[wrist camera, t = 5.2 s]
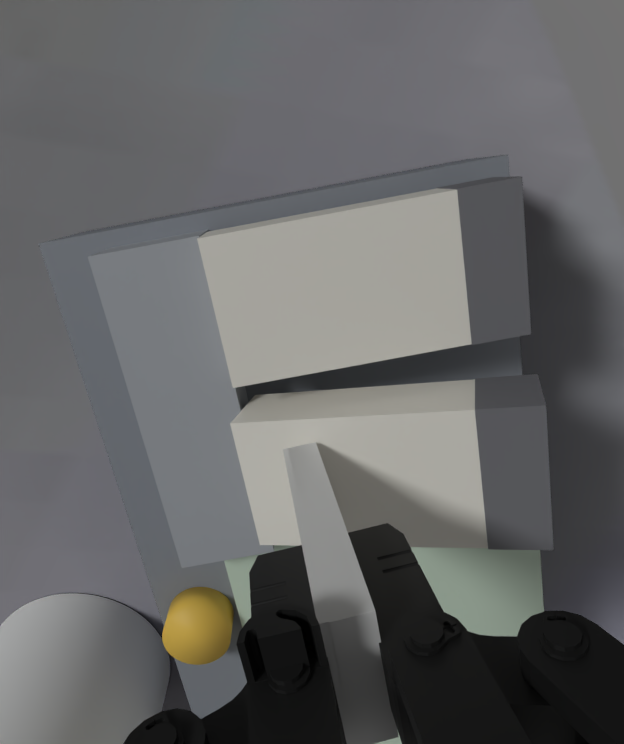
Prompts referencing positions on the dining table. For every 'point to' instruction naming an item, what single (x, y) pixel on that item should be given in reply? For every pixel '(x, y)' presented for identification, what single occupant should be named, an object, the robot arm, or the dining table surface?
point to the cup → (78, 671)
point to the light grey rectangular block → (409, 460)
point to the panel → (288, 369)
